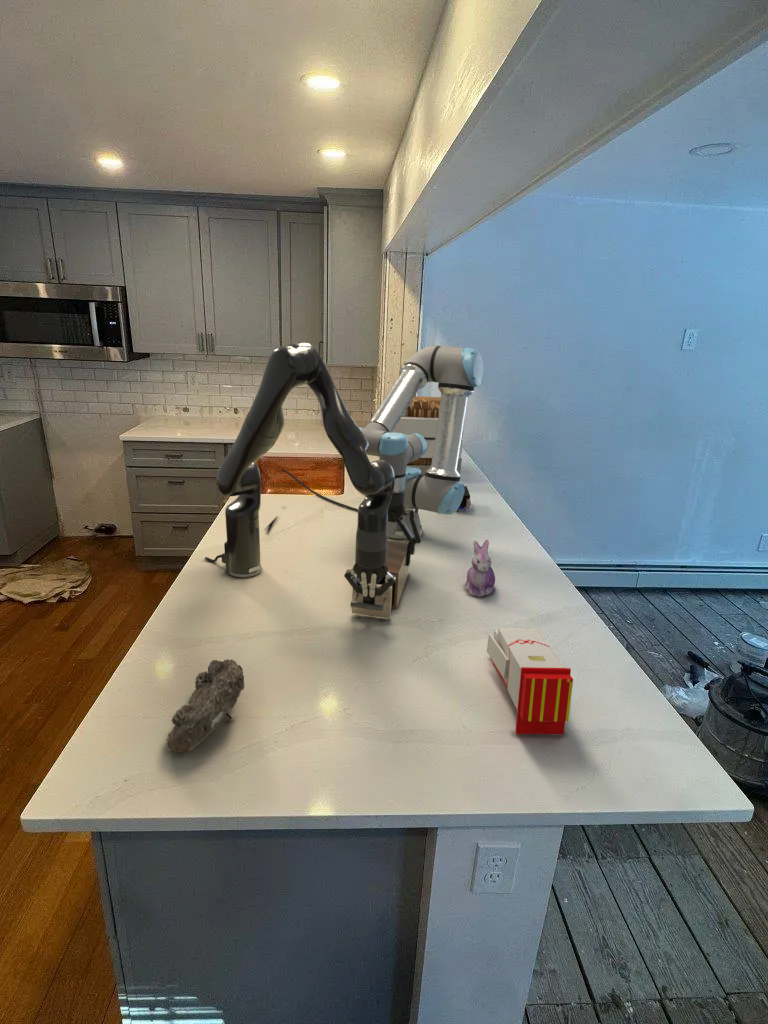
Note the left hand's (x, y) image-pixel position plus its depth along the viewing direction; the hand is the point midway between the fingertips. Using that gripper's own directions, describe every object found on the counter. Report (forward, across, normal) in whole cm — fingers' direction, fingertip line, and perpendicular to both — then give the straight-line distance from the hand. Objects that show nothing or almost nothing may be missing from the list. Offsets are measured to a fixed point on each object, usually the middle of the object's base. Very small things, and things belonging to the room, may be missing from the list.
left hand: (368, 608), depth 140 cm
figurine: (+5, +27, +26) cm, 38 cm away
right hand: (0, 0, +26) cm, 26 cm away
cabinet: (+5, 0, +20) cm, 21 cm away
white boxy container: (+7, -4, +143) cm, 143 cm away
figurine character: (+6, +18, +97) cm, 99 cm away
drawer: (+4, 0, +10) cm, 11 cm away
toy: (+4, +37, -18) cm, 41 cm away
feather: (+6, -48, +63) cm, 79 cm away
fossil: (+4, -22, -40) cm, 46 cm away
